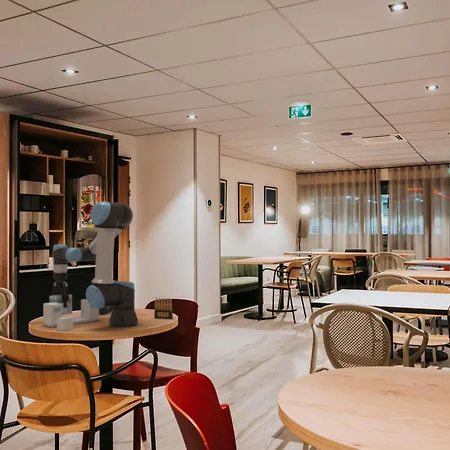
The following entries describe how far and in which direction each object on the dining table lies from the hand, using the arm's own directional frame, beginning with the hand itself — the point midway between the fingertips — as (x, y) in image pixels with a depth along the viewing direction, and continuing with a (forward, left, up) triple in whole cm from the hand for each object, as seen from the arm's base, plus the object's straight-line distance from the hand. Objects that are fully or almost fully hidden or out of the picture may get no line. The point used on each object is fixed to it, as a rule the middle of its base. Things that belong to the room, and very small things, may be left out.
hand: (60, 313), depth 287 cm
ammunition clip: (-36, -44, -4) cm, 57 cm away
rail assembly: (-12, 0, -4) cm, 13 cm away
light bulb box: (0, 0, -1) cm, 1 cm away
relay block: (-27, +12, -4) cm, 30 cm away
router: (+9, -32, -4) cm, 33 cm away
